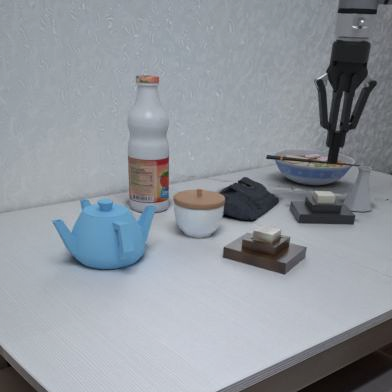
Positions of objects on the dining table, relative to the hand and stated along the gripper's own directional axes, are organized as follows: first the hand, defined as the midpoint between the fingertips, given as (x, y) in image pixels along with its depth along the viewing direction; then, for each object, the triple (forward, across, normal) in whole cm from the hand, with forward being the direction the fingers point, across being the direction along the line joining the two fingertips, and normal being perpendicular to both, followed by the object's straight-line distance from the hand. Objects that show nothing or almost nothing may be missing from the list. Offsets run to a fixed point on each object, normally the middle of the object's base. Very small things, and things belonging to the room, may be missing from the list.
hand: (331, 162), depth 113 cm
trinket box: (+13, -31, -12) cm, 35 cm away
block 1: (+13, -18, -25) cm, 34 cm away
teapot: (+12, -48, -26) cm, 56 cm away
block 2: (+13, 0, 0) cm, 13 cm away
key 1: (+9, -18, -25) cm, 32 cm away
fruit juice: (+12, -42, +4) cm, 44 cm away
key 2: (+9, 0, 0) cm, 9 cm away
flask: (+13, +11, +8) cm, 19 cm away
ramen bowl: (+13, +4, +29) cm, 32 cm away
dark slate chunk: (+13, -19, +7) cm, 24 cm away
